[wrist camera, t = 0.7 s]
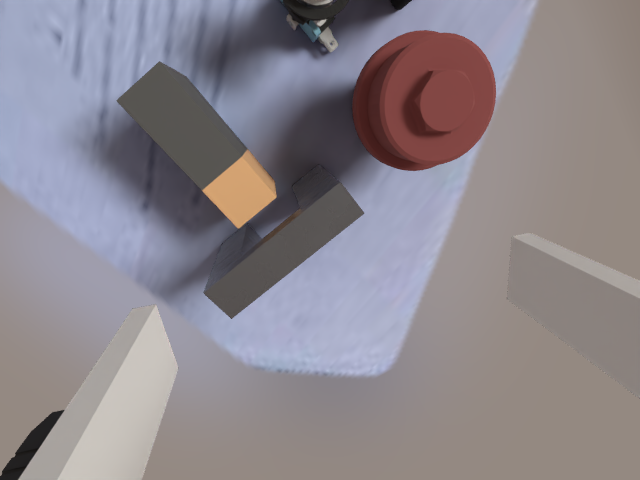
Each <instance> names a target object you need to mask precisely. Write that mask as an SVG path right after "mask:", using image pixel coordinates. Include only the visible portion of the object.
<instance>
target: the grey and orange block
mask: <svg viewBox="0 0 640 480" xmlns="http://www.w3.org/2000/svg"><path fill="white" fill-rule="evenodd" d="M117 102H118V103H119V104H120V105H121V106H122V107H123V108H124V109H125V110H126V111H127V113H128V114H129V115H130V116H131V117H132V118H133V119H134V120H135V121H136V122H137V123H138V124H139V125H140V126H141V127H142V128H143V129H144V130H145V131H146V132H147V134H148V135H149V136H150V137H151V138H152V139H153V140H154V141H155V142H156V143H157V144H158V145H159V146H160V147H161V148H162V149H163V150H164V151H165V152H166V153H167V155H168V156H169V157H170V158H171V159H172V160H173V161H174V162H175V163H176V164H177V165H178V166H179V167H180V168H181V169H182V170H183V171H184V172H185V173H186V174H187V176H188V177H189V178H190V179H191V180H192V181H193V182H194V183H195V184H196V185H197V186H198V187H199V188H200V189H201V190H202V191H203V192H204V193H205V194H206V195H207V197H208V198H209V199H210V200H211V201H212V202H213V203H214V204H215V205H216V206H217V207H218V208H219V209H220V210H221V211H222V212H223V213H224V214H225V215H226V216H227V218H228V219H229V220H230V221H231V222H232V223H233V224H234V225H235V226H236V227H237V228H238V229H239V228H240V227H241V226H242V225H244V224H245V223H246V222H247V221H249V220H250V219H251V218H252V217H253V216H255V215H256V214H257V213H258V212H259V211H261V210H262V209H263V208H264V207H266V206H267V205H268V204H269V203H270V202H272V201H273V200H274V199H275V198H276V197H277V196H276V187H275V181H274V180H273V178H272V177H271V176H270V175H269V174H268V172H267V171H266V170H265V169H264V168H263V167H262V165H261V164H260V163H259V162H258V161H257V159H256V158H255V157H254V156H253V155H252V154H251V152H250V151H249V150H248V149H247V148H246V147H245V145H244V144H243V143H242V142H241V141H240V139H239V138H238V137H237V136H236V135H235V134H234V132H233V131H232V130H231V129H230V128H229V126H228V125H227V124H226V123H225V122H224V121H223V119H222V118H221V117H220V116H219V115H218V113H217V112H216V111H215V110H214V109H213V108H212V106H211V105H210V104H209V103H208V102H207V100H206V99H205V98H204V97H203V96H202V95H201V93H200V92H199V91H198V90H197V89H196V87H195V86H194V85H193V84H192V83H191V82H190V80H189V79H188V78H187V77H186V76H184V75H183V74H181V73H179V72H177V71H176V70H174V69H172V68H170V67H169V66H167V65H165V64H163V63H161V62H160V61H159V62H158V63H157V64H156V65H155V66H154V67H153V68H152V69H151V70H149V71H148V72H147V73H146V74H145V75H144V76H143V77H142V78H141V79H140V80H139V81H137V82H136V83H135V84H134V85H133V86H132V87H131V88H130V89H129V90H128V91H126V92H125V93H124V94H123V95H122V96H121V97H120V98H119V99H118V100H117Z"/></svg>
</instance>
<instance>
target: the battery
mask: <svg viewBox="0 0 640 480" xmlns="http://www.w3.org/2000/svg"><path fill="white" fill-rule="evenodd" d="M390 1H391V3H392V4H393V6H394V8H395V9H397V10H400V9H402V8H403V7H404V6H406V5H407V4H408V3H409V2H410V1H412V0H390Z"/></svg>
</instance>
